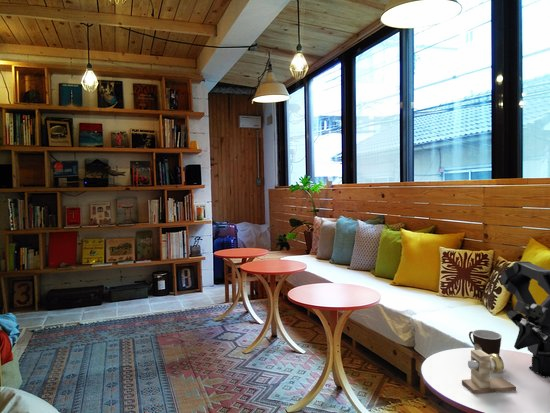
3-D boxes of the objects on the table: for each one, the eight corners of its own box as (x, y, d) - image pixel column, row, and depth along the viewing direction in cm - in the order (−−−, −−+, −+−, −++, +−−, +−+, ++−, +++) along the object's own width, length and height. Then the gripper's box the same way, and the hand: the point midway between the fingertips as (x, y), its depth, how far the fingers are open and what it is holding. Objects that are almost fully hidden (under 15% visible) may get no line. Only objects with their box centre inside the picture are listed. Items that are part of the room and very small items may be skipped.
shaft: (492, 367, 116) (492, 350, 116) (504, 375, 111) (504, 358, 111) (464, 369, 115) (464, 352, 115) (475, 377, 110) (475, 360, 110)
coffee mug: (505, 370, 124) (505, 339, 124) (477, 368, 126) (477, 338, 125) (493, 355, 135) (493, 327, 135) (466, 353, 137) (466, 326, 137)
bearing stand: (502, 380, 117) (501, 347, 117) (516, 390, 111) (516, 355, 111) (461, 383, 116) (461, 349, 116) (474, 394, 110) (473, 358, 110)
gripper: (511, 285, 124) (478, 320, 123) (556, 300, 105) (518, 341, 105) (535, 308, 124) (502, 343, 124) (584, 327, 106) (546, 368, 105)
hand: (515, 348), depth 115 cm, fingers closed
